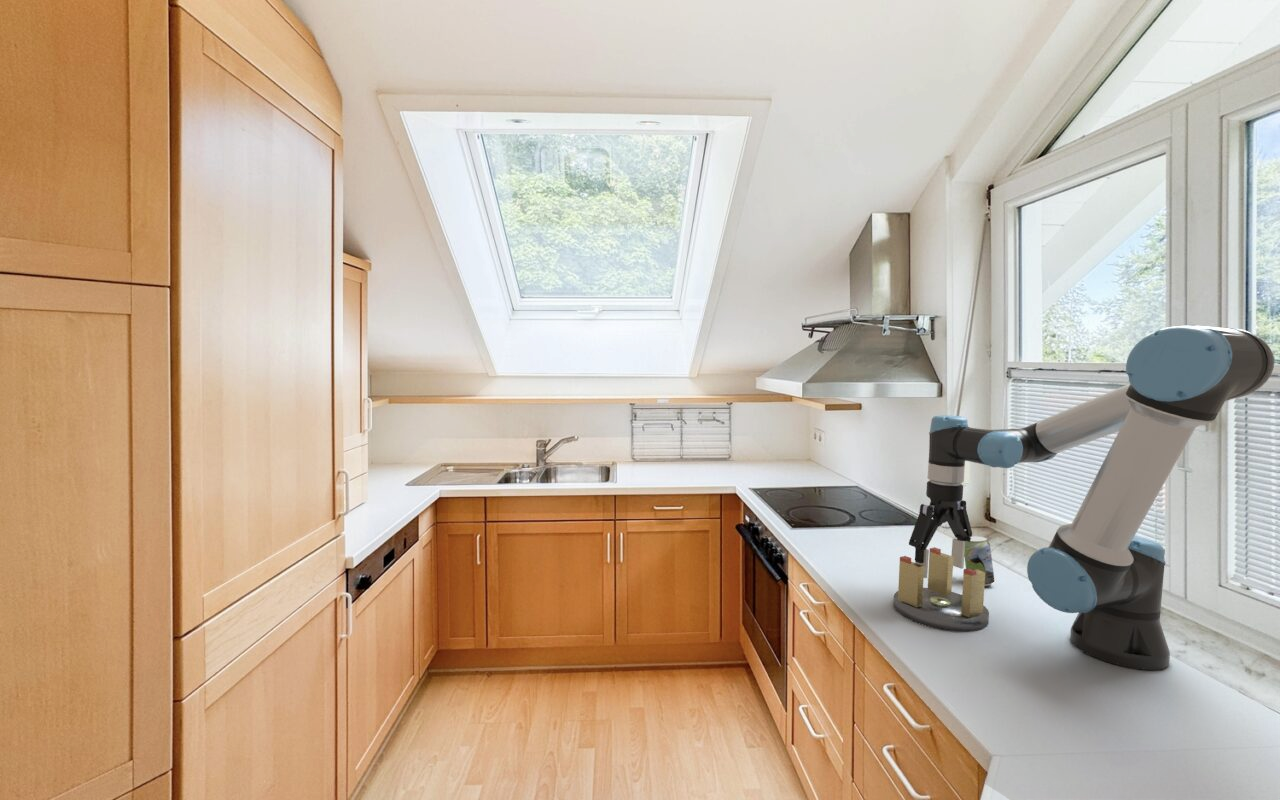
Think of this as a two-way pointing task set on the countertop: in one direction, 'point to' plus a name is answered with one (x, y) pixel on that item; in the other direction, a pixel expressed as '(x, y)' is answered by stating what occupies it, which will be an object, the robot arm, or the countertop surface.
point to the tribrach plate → (942, 612)
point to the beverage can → (979, 557)
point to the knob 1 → (910, 582)
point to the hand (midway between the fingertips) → (939, 571)
